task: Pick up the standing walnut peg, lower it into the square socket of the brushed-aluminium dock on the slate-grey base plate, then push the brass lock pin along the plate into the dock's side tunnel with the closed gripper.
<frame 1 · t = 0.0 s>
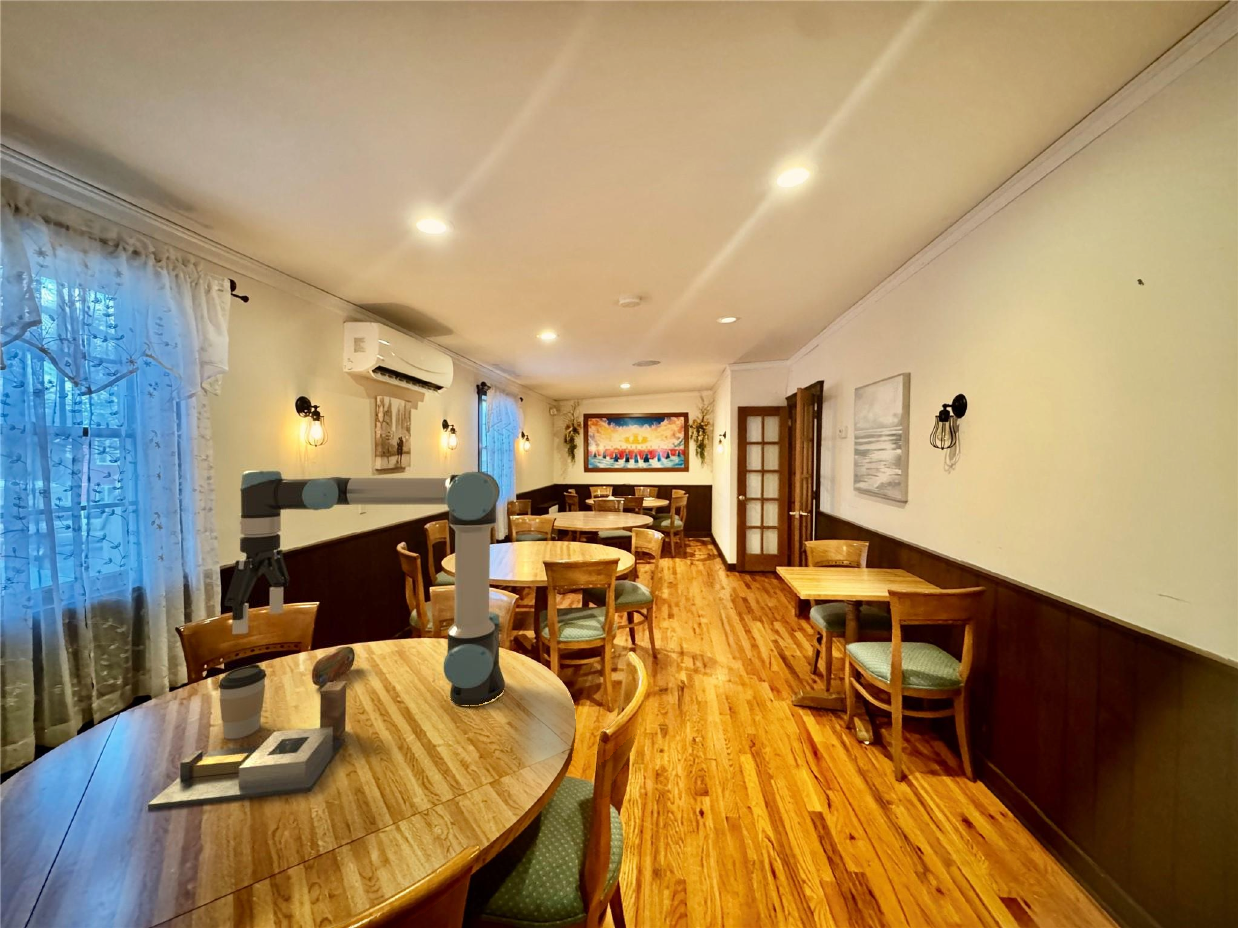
hand: (259, 622, 105), 28 cm above the table, fingers open, 13 cm apart
peg: (332, 735, 106), on the table
coffee cup: (242, 731, 108), on the table
pin: (216, 762, 92), point 3 cm above the table, slide at 0.0 cm
dock: (288, 768, 94), on the table
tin: (333, 679, 134), on the table
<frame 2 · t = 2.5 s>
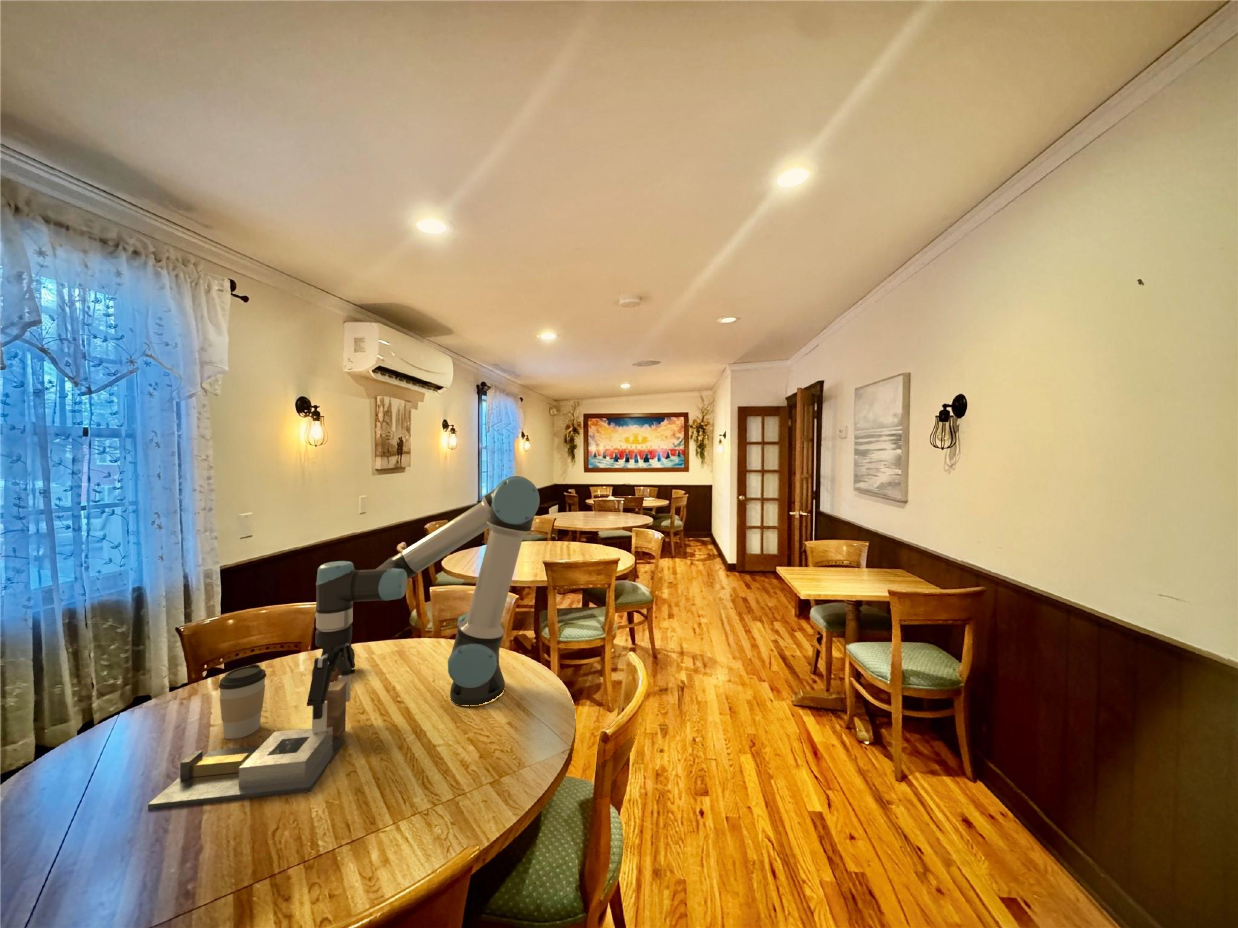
hand: (332, 715, 106), 5 cm above the table, fingers open, 12 cm apart
nothing on the table moved.
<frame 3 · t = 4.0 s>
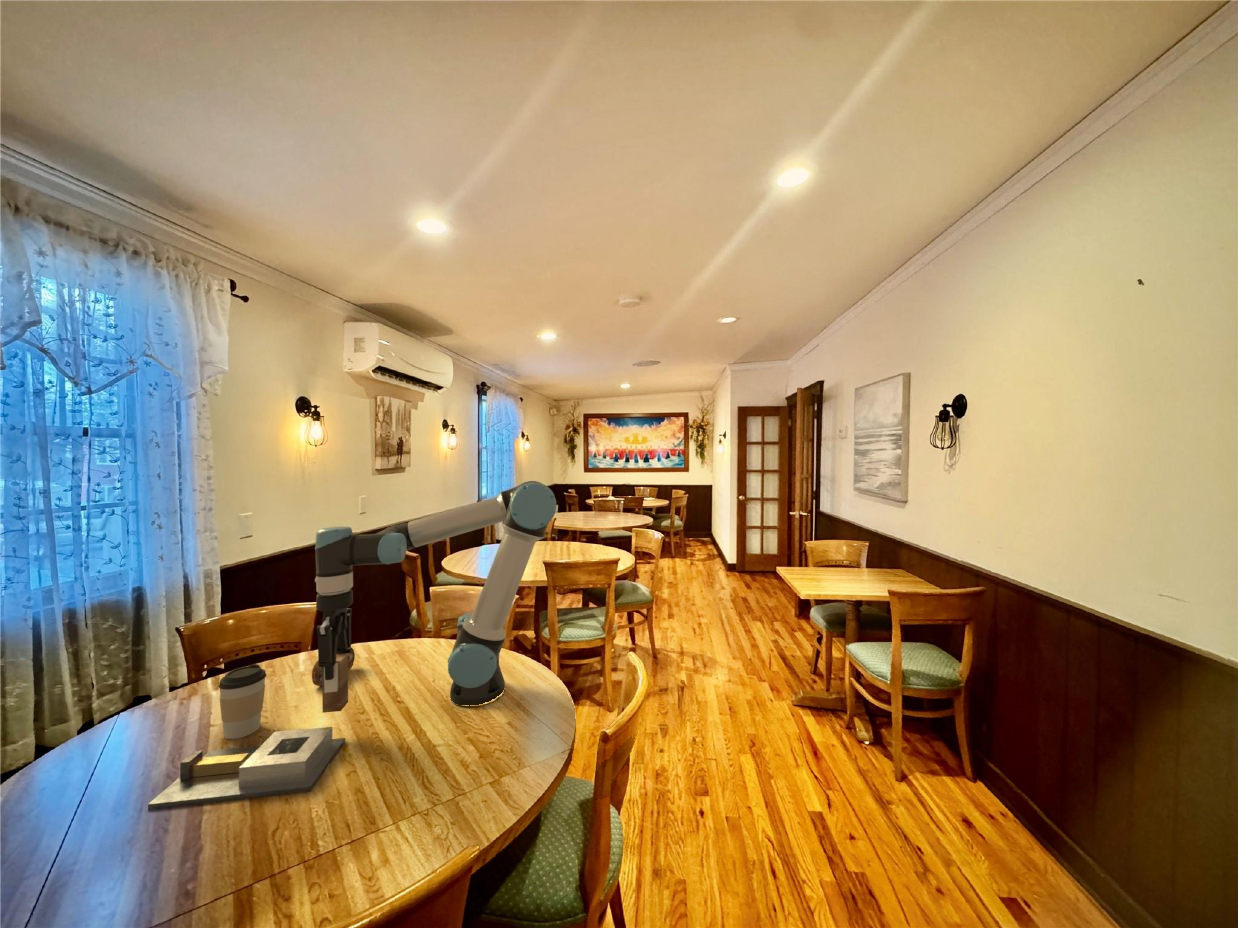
hand: (336, 685, 106), 12 cm above the table, fingers closed on peg, 4 cm apart
peg: (335, 707, 106), point 7 cm above the table, touching gripper
everything else where it was.
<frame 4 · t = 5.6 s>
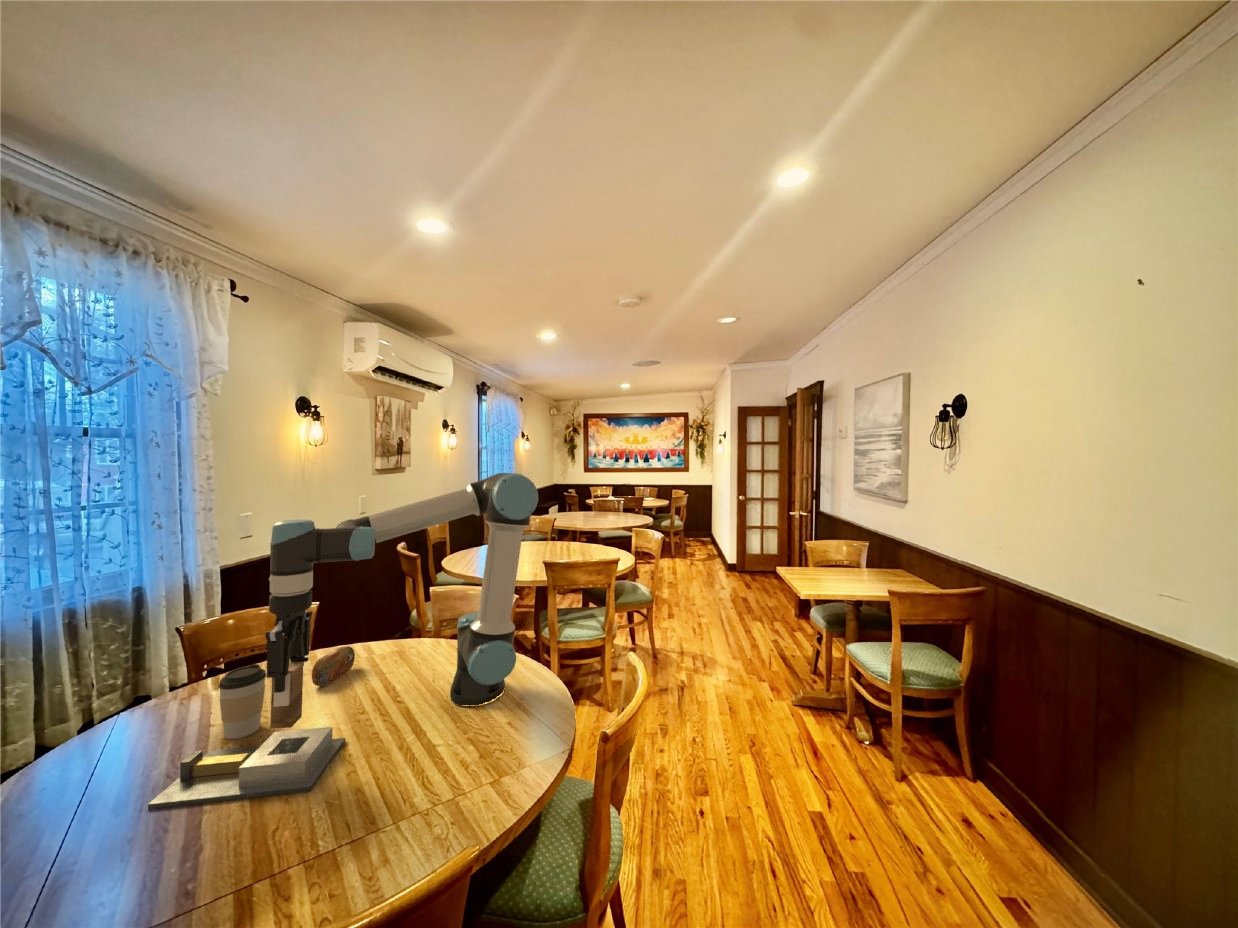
hand: (288, 698, 94), 15 cm above the table, fingers closed on peg, 4 cm apart
peg: (286, 722, 94), point 10 cm above the table, touching gripper
everything else where it was.
when the fingers open (6 cm above the table, at t = 7.3 s): peg stays where it is, resting on dock.
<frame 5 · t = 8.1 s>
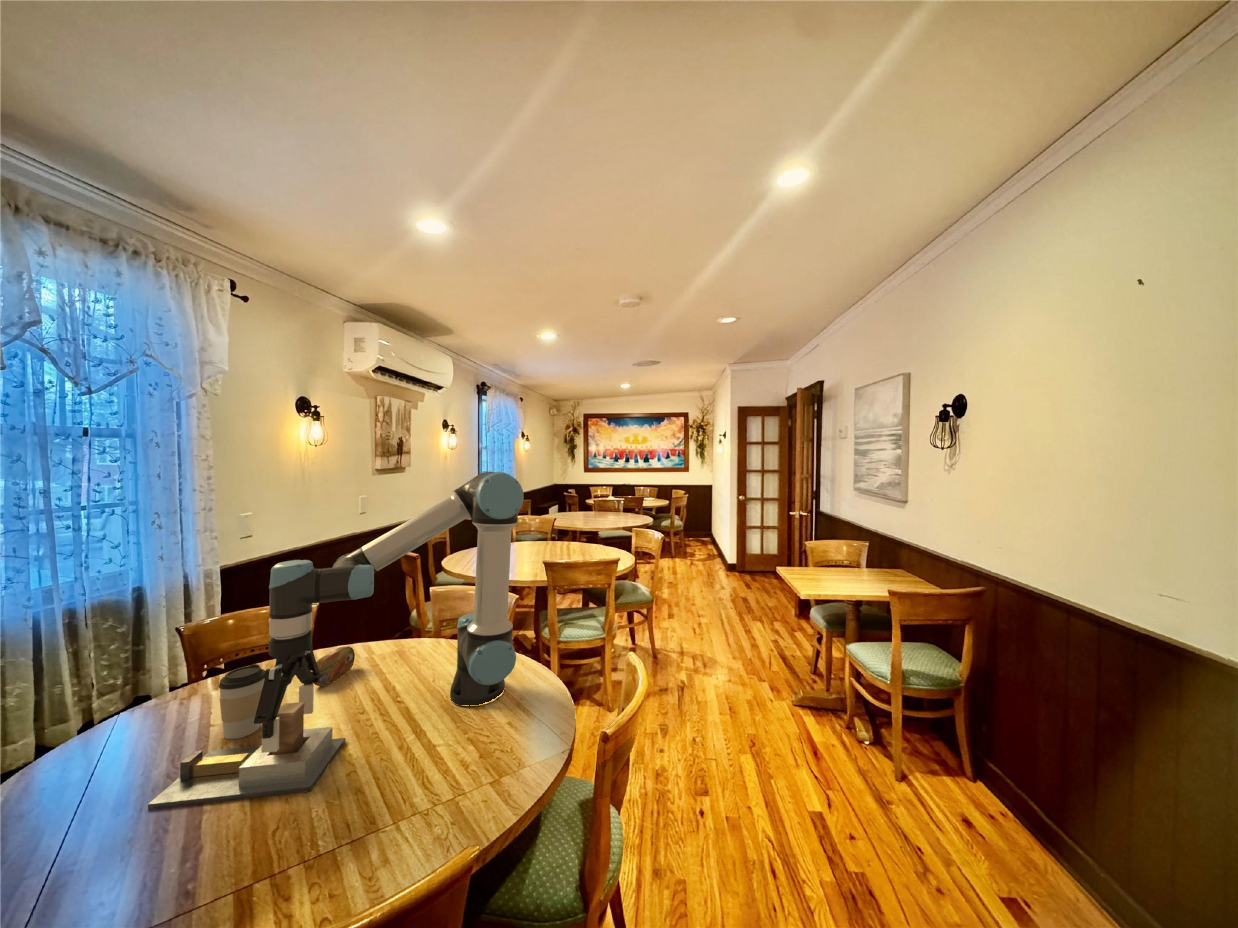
hand: (289, 730, 94), 8 cm above the table, fingers open, 13 cm apart
peg: (287, 763, 94), point 1 cm above the table, touching dock
everything else where it was.
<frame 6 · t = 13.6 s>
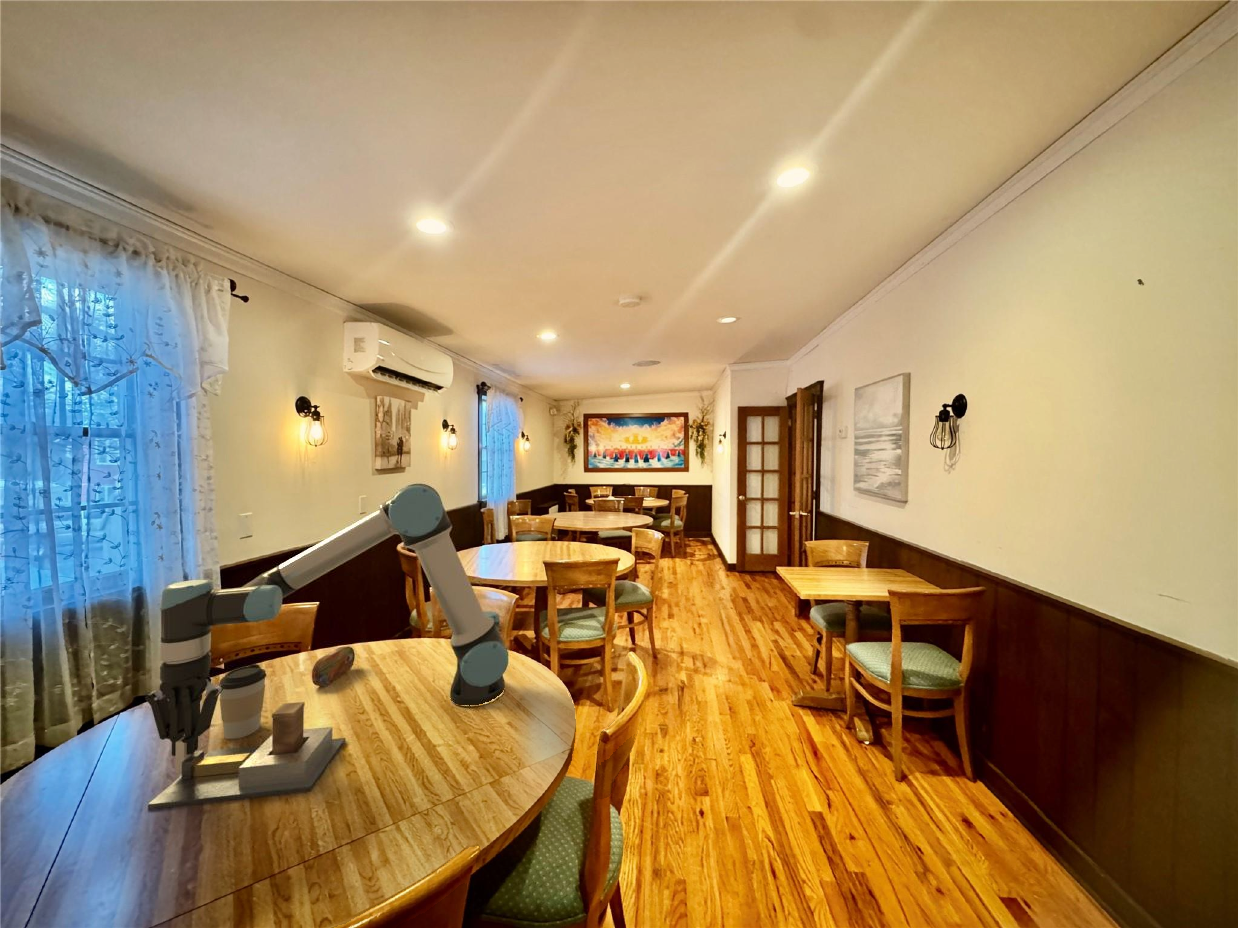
hand: (184, 768, 91), 2 cm above the table, fingers closed
pin: (217, 762, 92), point 3 cm above the table, slide at 0.3 cm, touching gripper
everything else where it was.
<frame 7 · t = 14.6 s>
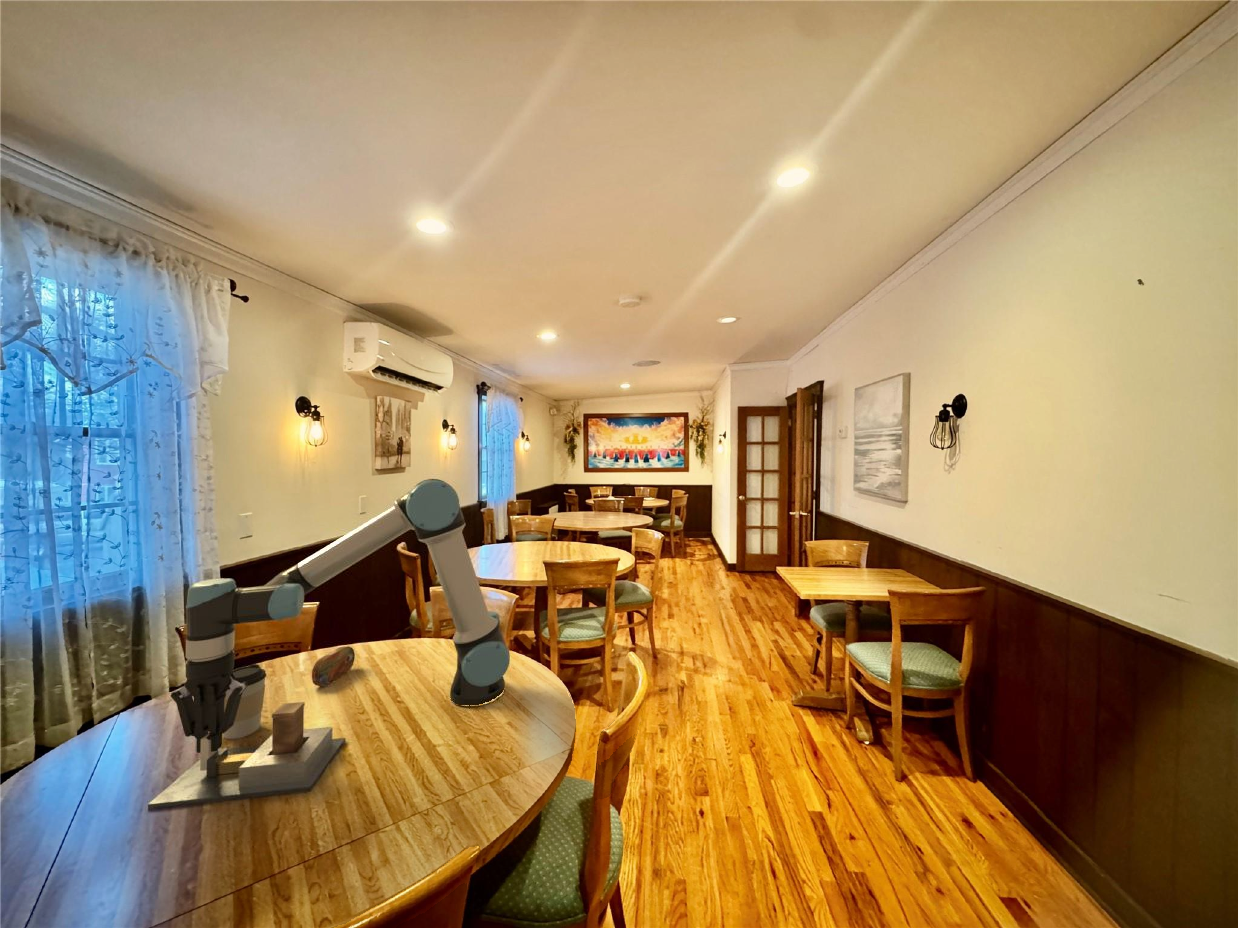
hand: (209, 765, 92), 2 cm above the table, fingers closed
pin: (241, 759, 93), point 3 cm above the table, slide at 4.7 cm, touching gripper
everything else where it was.
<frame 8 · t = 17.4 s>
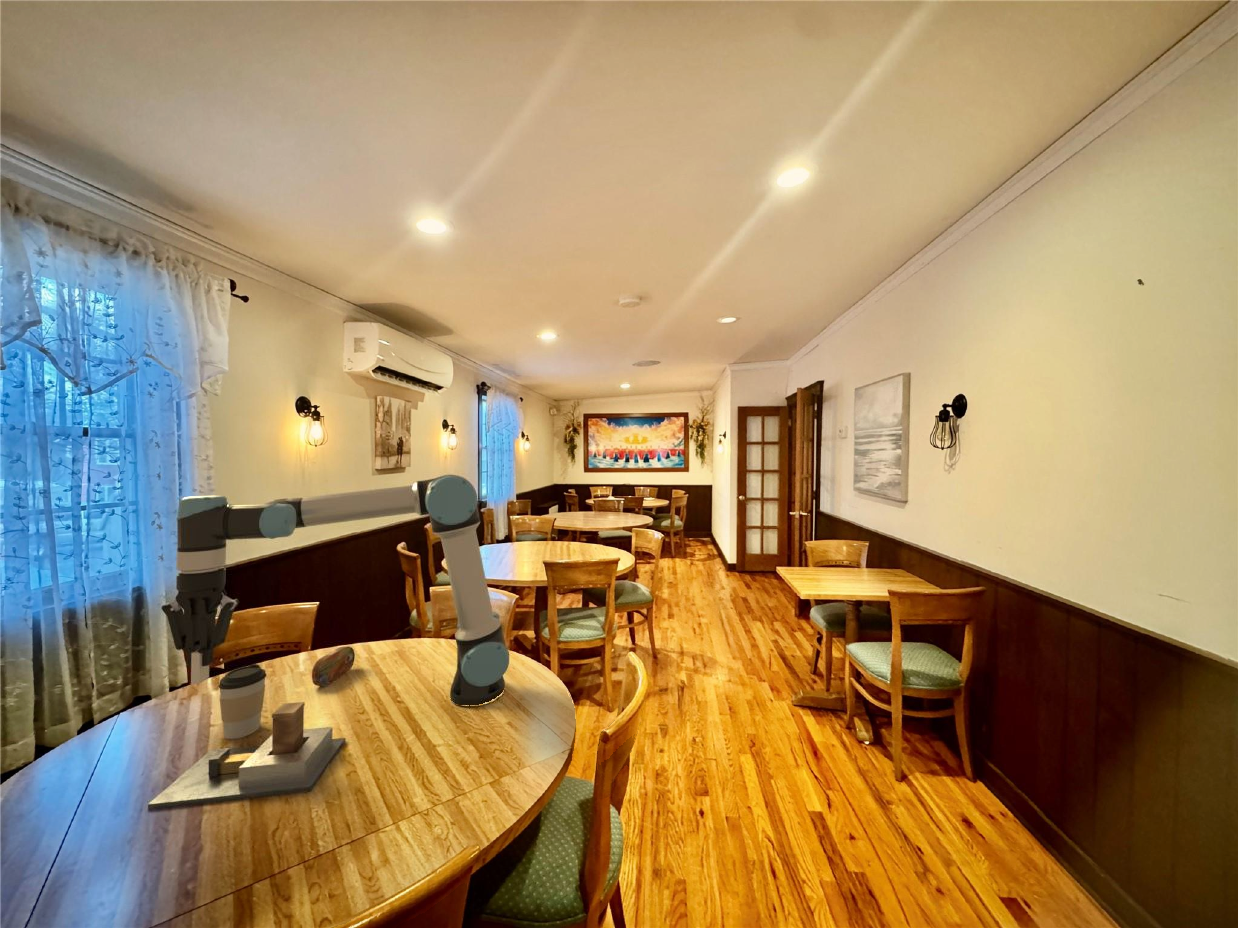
hand: (200, 680, 92), 20 cm above the table, fingers closed
pin: (243, 759, 93), point 3 cm above the table, slide at 5.1 cm
everything else where it was.
at the end: peg 0.3 cm off-centre on the dock, point 1.0 cm above the dock's base; peg tilted 0°; pin slide at 5.1 cm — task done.
